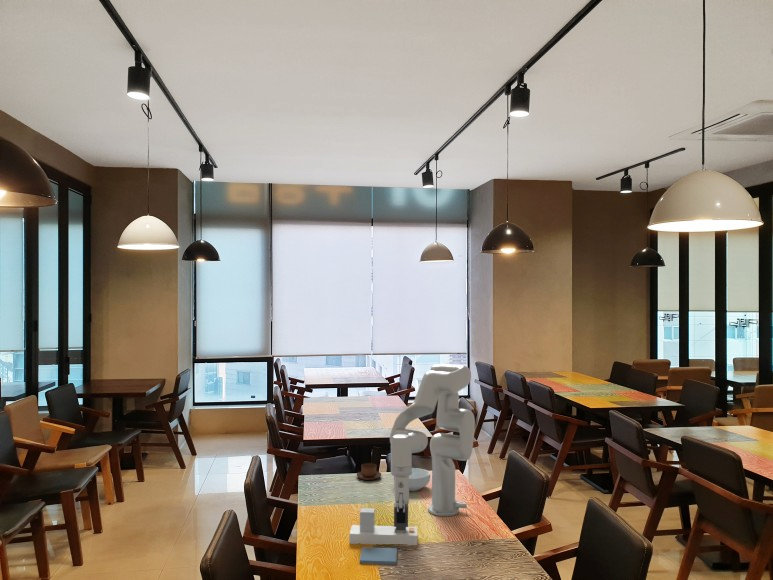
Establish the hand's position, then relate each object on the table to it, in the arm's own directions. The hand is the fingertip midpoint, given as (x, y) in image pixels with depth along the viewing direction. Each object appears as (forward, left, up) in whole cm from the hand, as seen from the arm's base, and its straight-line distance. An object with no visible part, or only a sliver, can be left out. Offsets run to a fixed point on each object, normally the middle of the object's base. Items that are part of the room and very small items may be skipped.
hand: (401, 519), depth 210 cm
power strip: (+6, 0, -7) cm, 10 cm away
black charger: (0, 0, -3) cm, 3 cm away
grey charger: (+12, 0, -5) cm, 13 cm away
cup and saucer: (+17, -71, -8) cm, 74 cm away
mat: (+7, +14, -7) cm, 18 cm away
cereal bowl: (-4, -58, -8) cm, 58 cm away
